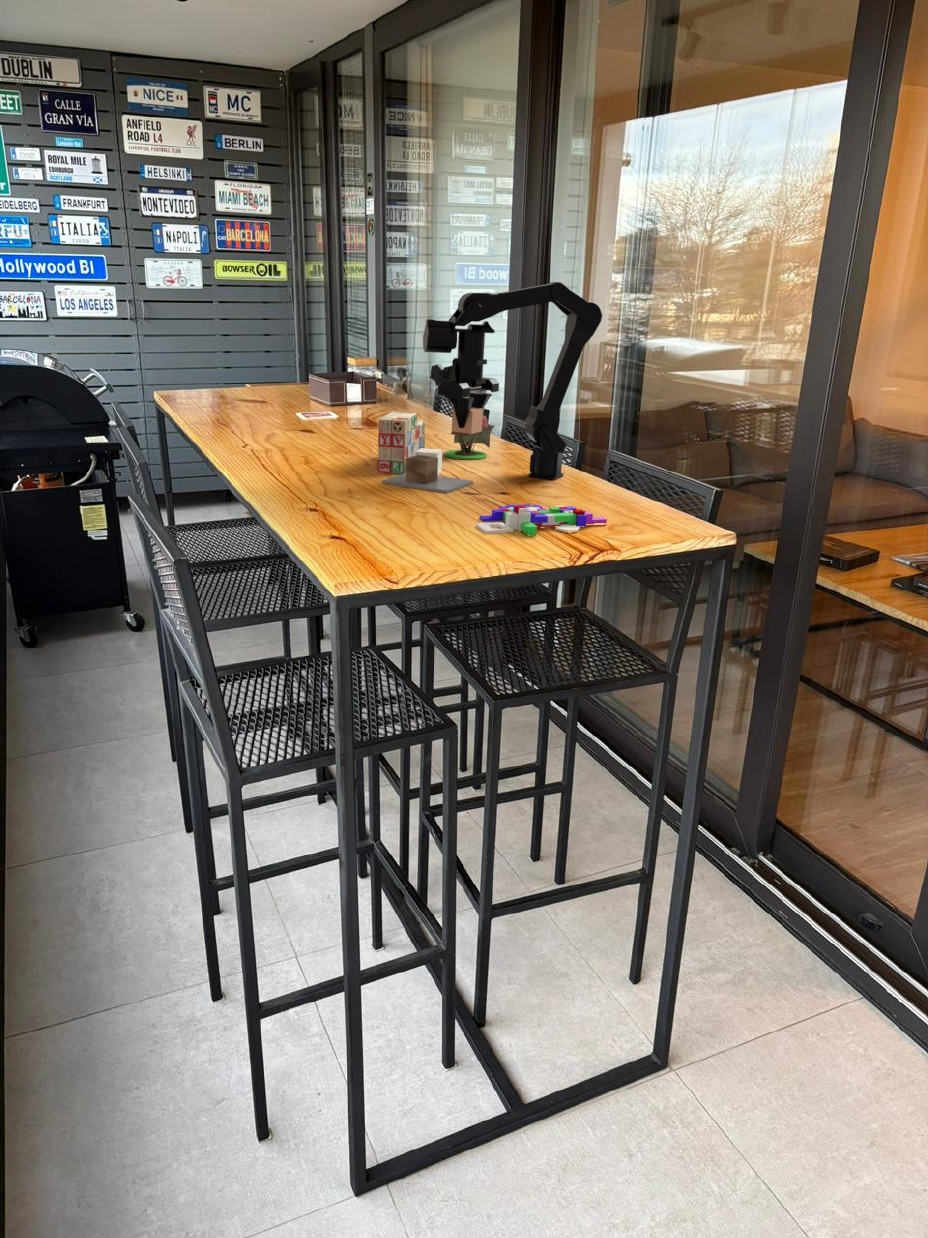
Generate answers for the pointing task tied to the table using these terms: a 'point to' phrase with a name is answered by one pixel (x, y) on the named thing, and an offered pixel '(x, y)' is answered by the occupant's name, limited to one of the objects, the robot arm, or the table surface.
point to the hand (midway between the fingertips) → (466, 426)
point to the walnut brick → (421, 469)
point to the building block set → (536, 519)
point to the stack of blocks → (398, 440)
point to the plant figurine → (471, 442)
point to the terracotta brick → (469, 421)
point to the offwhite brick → (432, 455)
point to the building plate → (439, 486)
